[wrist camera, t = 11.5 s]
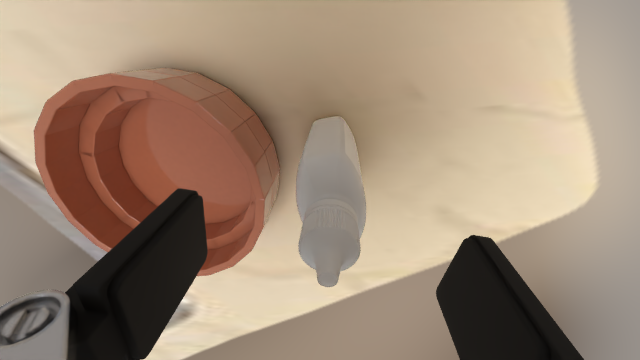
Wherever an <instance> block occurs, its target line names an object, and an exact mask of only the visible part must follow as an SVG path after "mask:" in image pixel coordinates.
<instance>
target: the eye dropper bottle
mask: <svg viewBox="0 0 640 360" xmlns="http://www.w3.org/2000/svg"><path fill="white" fill-rule="evenodd" d="M296 200H297V206H298V211H299V214H300V217H301V220H302V222H303V226H302V230H301V235H300V240H299V246H298V247H299V248H298V249H299V252H300V253H299V254H300V256H301V257H302V259H303V261H304V262H305V263H306V264H307V265H309V266H310V267H311V268H313V269H315V270H316V273H317V280H318V283H319V284H320V285H322V286H325V287H332V286H334V285H336V284H337V282H338V278H339V274H340V271H343V270H346V269H348V268H349V267H351V266H352V265H354V263H355V262H356V261H357V259H358V257H359V254H360V237H361V235H362V233H363V229H364V226H365V220H366V199H365V193H364V187H363V181H362V175H361V169H360V164H359V158H358V152H357V147H356V143H355V139H354V137H353V134H352V132H351V130H350V128H349V126H348V124H347V123H346V121H345V120H344V119H343V118H342V117H339V116H334V117H328V118H323V119H318V120H316V121H314V123H313V124H312V127H311V129H310V132H309V135H308V138H307V141H306V144H305V147H304V150H303V153H302V156H301V159H300V163H299V167H298V172H297V179H296Z"/></svg>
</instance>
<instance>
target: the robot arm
mask: <svg viewBox="0 0 640 360" xmlns="http://www.w3.org/2000/svg"><path fill="white" fill-rule="evenodd" d="M207 254H208V249H207V239H206V228H205V217H204V206H203V198H202V196H199V195H198V192H197V191H194V190H188V189H182V188H178V189H177V190H175V191H174V192H173V193H172V194H171V195H170V196H169V197H168V198H167V199H166V200H165V201H163V202H162V203H161V204H160V205H159V206H158V207H157V208H156V209H155V210H154V211H153V212H151V213H150V214H149V215H148V216H147V217H146V218H145V219H144V220H143V221H142V222H141V223H140V224H138V225H137V226H136V227H135V228H134V229H133V230H132V231H131V232H130V233H129V234H128V235H126V236H125V237H124V238H123V239H122V240H121V241H120V242H119V243H118V244H117V245H116V246H114V247H113V248H112V249H111V250H110V251H109V252H108V253H107V254H106V255H105V256H104V257H102V258H101V259H100V260H99V261H98V262H97V263H96V264H95V265H94V266H93V267H92V268H91V269H89V270H88V271H87V272H86V273H85V274H84V275H83V276H82V277H81V278H80V279H79V280H77V282H75V283H74V284H73V286H72V287H71V288H70V289H69V290H68V291H67V292H65V293H64V292H62V291H58V290H42V291H37V292H33V293H29V294H26V295H24V296H21V297H19V298H16V299H14V300H12V301H10V302H8V303H6V304H5V305H3V306H1V307H0V360H140V359H145V358H146V357H147V356H148V355H149V353H150V352H151V350H152V348H153V347H154V345H155V343H156V342H157V340H158V338H159V337H160V335H161V333H162V332H163V330H164V329H165V327H166V325H167V324H168V322H169V320H170V319H171V317H172V315H173V314H174V312H175V310H176V309H177V307H178V305H179V304H180V302H181V300H182V299H183V297H184V296H185V294H186V292H187V291H188V289H189V287H190V286H191V284H192V282H193V281H194V279H195V277H196V276H197V274H198V272H199V271H200V269H201V267H202V266H203V264H204V263H205V261H206V258H207ZM436 296H437V300H438V302H439V305H440V308H441V310H442V313H443V316H444V318H445V321H446V323H447V326H448V329H449V332H450V334H451V337H452V340H453V342H454V345H455V347H456V350H457V353H458V355H459V358H460V360H584V359H583V358H582V356H581V355H580V354H579V353H578V351H577V350H576V349H575V347H574V346H573V345H572V343H571V342H570V341H569V339H568V338H567V337H566V335H565V334H564V333H563V331H562V330H561V329H560V328H559V326H558V325H557V324H556V322H555V321H554V320H553V318H552V317H551V316H550V314H549V313H548V312H547V311H546V309H545V308H544V307H543V305H542V304H541V303H540V301H539V300H538V299H537V297H536V296H535V295H534V294H533V292H532V291H531V290H530V288H529V287H528V286H527V284H526V283H525V282H524V281H523V279H522V278H521V276H520V275H519V274H518V272H517V271H516V270H515V269H514V267H513V266H512V265H511V263H510V262H509V261H508V259H507V258H506V257H505V255H504V254H503V253H502V252H501V250H500V249H499V248H498V246H497V245H496V244H495V242H494V241H493V240H492V239H491V238H488V237H482V236H476V235H471V236H470V237H469V238H466V239H464V240H463V242H462V244H461V246H460V247H459V249H458V251H457V253H456V255H455V256H454V258H453V260H452V262H451V264H450V265H449V267H448V269H447V271H446V273H445V274H444V276H443V278H442V280H441V282H440V284H439V286H438V287H437V290H436Z"/></svg>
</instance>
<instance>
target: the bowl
mask: <svg viewBox="0 0 640 360" xmlns="http://www.w3.org/2000/svg"><path fill="white" fill-rule="evenodd" d="M34 141H35V161H36V165H37V167H38V170H39V172H40V175H41V177H42V180H43V182H44V185H45V187H46V190H47V192H48V194H49V195H50V197H51V198H52V199H53V201H54V202H55V203H56V205H57V206H58V207H59V209H60V210H61V212H62V213H63V214H64V216H65V217H66V218H67V220H68V221H69V222H70V223H71V224H72V225H74V226H75V227H76V228H77V229H78V230H79V231H80V232H81V233H82V234H84V235H85V236H86V237H87V238H88V239H89V240H90V241H91V242H93V243H94V244H95V245H96V246H98V247H100V248H101V249H103V250H105V251H106V252H109V251H110V250H111V249H112V248H113V247H114V246H116V245H117V244H118V243H119V242H120V241H121V240H122V239H123V238H124V237H125V236H126V235H128V234H129V233H130V232H131V231H132V230H133V229H134V228H135V227H136V226H137V225H138V224H140V223H141V222H142V221H143V220H144V219H145V218H146V217H147V216H148V215H149V214H150V213H151V212H153V211H154V210H155V209H156V208H157V207H158V206H159V205H160V204H161V203H162V202H163V201H165V200H166V199H167V198H168V197H169V196H170V195H171V194H172V193H173V192H174V191H175V190H177V189H178V188H182V189H188V190H194V191H197V192H198V195H199V196H202V198H203V206H204V217H205V228H206V239H207V249H208V254H207V258H206V261H205V263H204V264H203V266H202V267H201V269H200V271H199V272H198V274H197V276H206V275H211V274H214V273H217V272H219V271H222V270H225V269H227V268H230V267H233V266H234V265H235V264H237V263H238V262H239V261H240V260H241V259H242V258H244V257H245V256H246V255H247V254H248V253H249V252H251V251H252V249H253V247H254V245H255V243H256V241H257V239H258V237H259V235H260V233H261V231H262V229H263V227H264V225H265V222H266V220H267V218H268V215H269V213H270V211H271V208H272V206H273V204H274V201H275V199H276V197H277V194H278V187H279V175H280V167H279V163H278V159H277V155H276V151H275V147H274V144H273V141H272V139H271V137H270V136H269V134H268V132H267V131H266V129H265V128H264V126H263V124H262V123H261V121H260V120H259V118H258V116H257V115H256V114H255V112H254V111H253V110H252V109H251V108H250V107H249V106H247V105H246V104H245V103H244V102H243V101H242V100H241V99H240V98H239V97H238V96H237V95H236V94H234V93H233V92H232V91H231V90H230V89H228V88H226V87H224V86H222V85H220V84H219V83H217V82H215V81H213V80H211V79H209V78H207V77H205V76H203V75H201V74H199V73H194V72H188V71H182V70H176V69H170V68H155V69H146V70H136V71H127V72H118V73H109V74H104V75H99V76H94V77H89V78H84V79H79V80H74V81H72V82H70V83H69V84H68V85H66V86H65V87H64V88H63V89H61V90H60V91H59V92H57V93H56V94H55V95H54V96H52V97H51V98H50V99H48V100H47V102H45V105H44V107H43V110H42V112H41V114H40V117H39V119H38V121H37V124H36V126H35V129H34Z"/></svg>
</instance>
